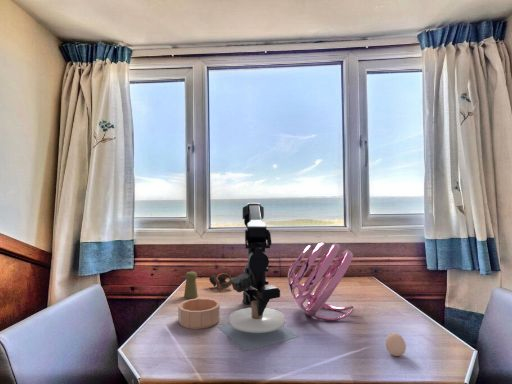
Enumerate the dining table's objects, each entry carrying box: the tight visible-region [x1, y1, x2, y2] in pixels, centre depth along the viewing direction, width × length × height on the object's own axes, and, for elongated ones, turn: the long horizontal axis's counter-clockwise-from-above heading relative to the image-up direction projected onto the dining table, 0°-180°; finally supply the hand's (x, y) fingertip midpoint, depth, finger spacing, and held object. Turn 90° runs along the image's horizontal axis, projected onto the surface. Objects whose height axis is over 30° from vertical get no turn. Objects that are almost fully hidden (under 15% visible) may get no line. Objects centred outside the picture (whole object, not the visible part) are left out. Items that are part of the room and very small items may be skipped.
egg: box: [385, 332, 407, 357], centre depth 85 cm, size 5×5×6 cm
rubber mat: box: [217, 324, 300, 353], centre depth 99 cm, size 19×19×1 cm
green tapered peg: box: [183, 271, 199, 300], centre depth 137 cm, size 6×6×11 cm
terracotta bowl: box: [177, 297, 221, 330], centre depth 109 cm, size 14×14×6 cm
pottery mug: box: [208, 272, 232, 292], centre depth 150 cm, size 12×10×8 cm
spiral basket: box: [287, 241, 355, 322], centre depth 115 cm, size 28×28×27 cm
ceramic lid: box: [228, 300, 286, 333], centre depth 99 cm, size 18×18×6 cm
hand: (257, 313), depth 99 cm, fingers closed on ceramic lid, 4 cm apart
